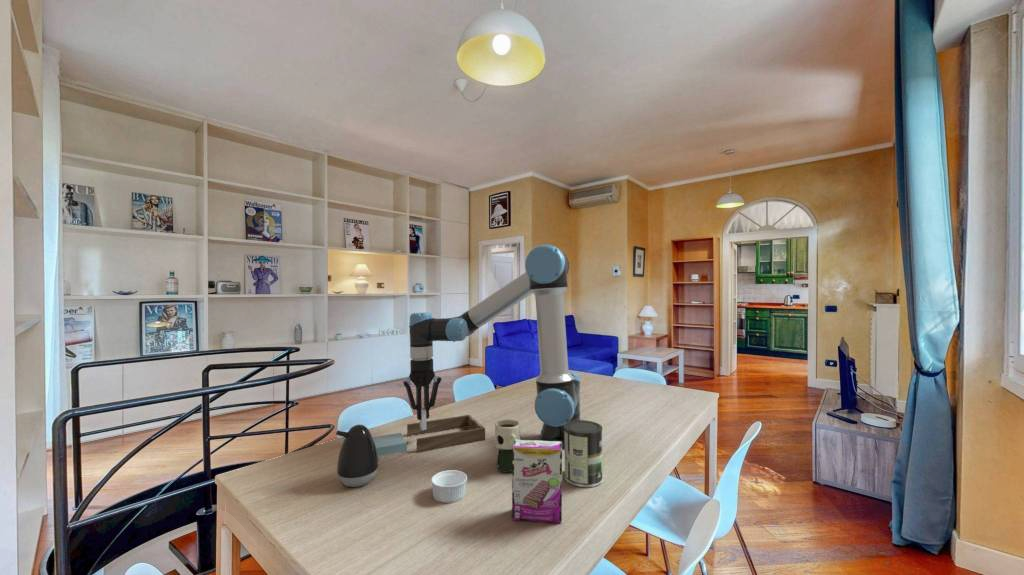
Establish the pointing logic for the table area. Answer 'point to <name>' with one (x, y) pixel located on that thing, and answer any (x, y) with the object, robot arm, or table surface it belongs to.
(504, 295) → the robot arm
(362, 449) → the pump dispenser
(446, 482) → the ramekin
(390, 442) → the cover plate
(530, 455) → the candy bar box
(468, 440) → the walnut box
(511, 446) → the character mug
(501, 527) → the table surface
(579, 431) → the coffee can
